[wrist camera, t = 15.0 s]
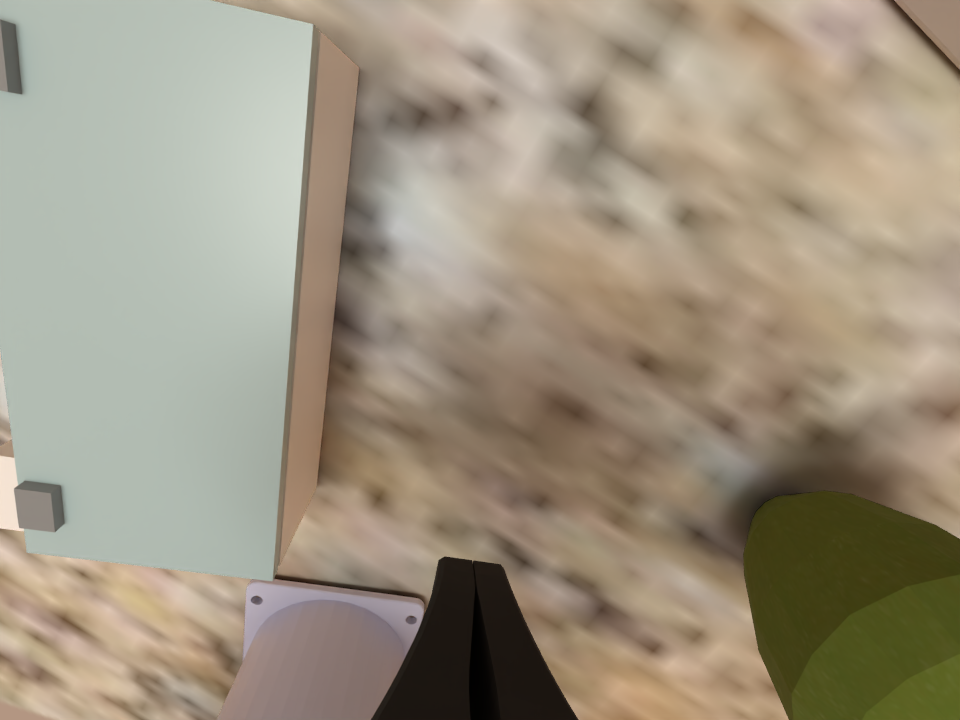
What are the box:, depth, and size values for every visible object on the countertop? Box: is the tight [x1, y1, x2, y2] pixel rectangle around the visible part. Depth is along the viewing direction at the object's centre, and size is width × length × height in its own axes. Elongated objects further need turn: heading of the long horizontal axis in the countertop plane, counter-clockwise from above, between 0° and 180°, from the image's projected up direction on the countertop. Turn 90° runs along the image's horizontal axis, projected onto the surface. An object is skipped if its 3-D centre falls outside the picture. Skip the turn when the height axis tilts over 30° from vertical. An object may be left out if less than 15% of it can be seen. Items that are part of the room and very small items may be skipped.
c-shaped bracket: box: [0, 32, 359, 566], centre depth 17 cm, size 16×9×5 cm, turn 169°
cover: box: [0, 0, 319, 581], centre depth 14 cm, size 16×8×1 cm, turn 169°
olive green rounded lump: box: [743, 491, 960, 720], centre depth 18 cm, size 9×8×12 cm
